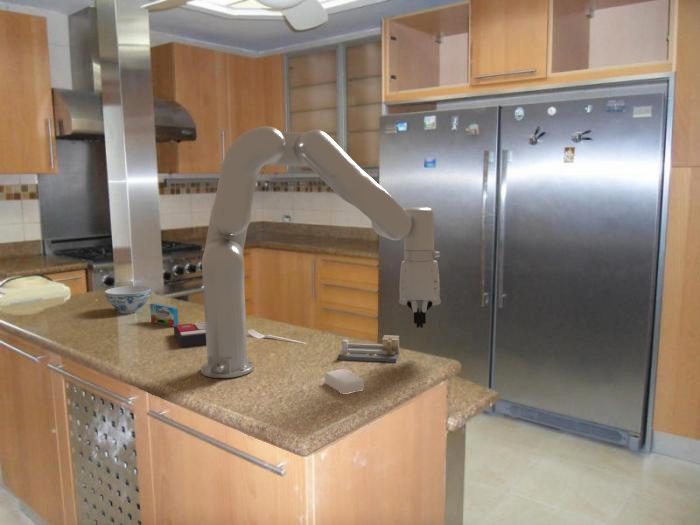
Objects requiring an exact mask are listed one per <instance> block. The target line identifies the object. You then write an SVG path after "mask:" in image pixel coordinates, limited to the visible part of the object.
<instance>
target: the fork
mask: <svg viewBox="0 0 700 525" xmlns="http://www.w3.org/2000/svg"><path fill="white" fill-rule="evenodd" d="M247 332H248V334H249V335H250V336H251V337H253V338H254V339H255V338H256V339H267V338H268V339H271V340H278V341H283V342H289V343H296V344H297V343H298V344H303V345H306V344H307V342H303V341H300V340H295V339H289V338H286V337H281V336H276V335H271V334H267V335H264V334H261V333H259V332H257V331H256V330H254V329H253V328H251V329H250V330H247Z"/></svg>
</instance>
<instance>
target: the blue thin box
mask: <svg viewBox="0 0 700 525" xmlns="http://www.w3.org/2000/svg"><path fill="white" fill-rule="evenodd" d="M149 305H150V306H149V309H150V322H151V323H154V322H155V323H154V324H158V323H159V325H162V324H163V325H164V326H167V325H168V326H167V327H171V326H172V327H171V328H174V327H176V325H179V314H178V311H179V310H178V307H177V306H172V305H168V304H162V303H156V302H152V303H150V304H149ZM163 325H162V326H163Z"/></svg>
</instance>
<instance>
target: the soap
mask: <svg viewBox="0 0 700 525" xmlns="http://www.w3.org/2000/svg"><path fill="white" fill-rule="evenodd" d="M324 381H325V382H324V383H325V385H327V384H328V385H330V386H332V387H333V388H335V389H336V390H338V391H340V392H341V393H349V392H353V391H358V390H362V389H364V390H365V380H364V379H363V378H362V377H359V376H358V375H357V374H355V373H352V372H351V371H349V370H347V369H345V368H341V369H337V370H331V371H327V372H325V374H324ZM328 385H327V386H328ZM330 386H329V387H330ZM333 388H332V389H333ZM335 389H334V390H335ZM336 390H335V391H336ZM338 391H337V392H338ZM341 393H340V394H341Z"/></svg>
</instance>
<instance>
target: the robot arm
mask: <svg viewBox="0 0 700 525" xmlns="http://www.w3.org/2000/svg"><path fill="white" fill-rule="evenodd" d="M264 166H286V167H288V166H289V167H290V166H291V167H309V168H310V169H311V170H312V171H313V172H314V173H315V174H316V175H318V177H319V178H320V179H321V180H322V181H323V182H324V183H325V184H326V185H327V186H328V187H329V188H331V190H332V191H333V192H334V193H335V194H336V195H337V196H338V197H340V198H341V199H342V200H343V201H345V202H346V203H348V204H351V205H352V206H353V207H355V208H356V209H358V210H359V211H360V212H362V213H363V214H364V215H365V216H366V217H367V218H368V219H369V220H370V221H371V227H372V230H373V231H374V232H375V233H376V234H377V235H378V236H381V237H383V238H386V239H389V240H392V241H400V240H403V243H404V244H403V245H404V247H403V249H404V250H403V255H404V256H403V257H404V258H403V259H404V260H402V261H401V263H400V270H399V271H400V273H399V299H398V304H399V305H403V306H407V307H408V308H409V309H410V310H411V311H412V313H413V324H415V325H416V328H421V329H423V328H424V324H427V321H426V320H427V319H426V318H427V311H428V310H429V309H430V308H432V307H433V306H439V305H441V302H442V301H441V296H440V291H441V287H440V286H441V284H440V271H439V263H438V261H437V260H435V259H436V258H439V257H441V252H440V251H436V250H435V214H434V213H435V212H434V210H433V209H432V208H431V207H427V206H425V207H424V206H417V207H416V206H414V207H408V208H404V207H402V205H401V204H400V203H399V202H398V201H397V200H395V198H394V197H393V196H392V195H391V194H390V193H389V192H388V191H387V190H386V189H384V188H383V186H381V185H380V184H379V183H377V181H375V180H374V179H373V178H372V177H371V176H370V175H369V174H367V173H366V172H365V170H363V169H362V168H361V167H360V166H359V165H358V164H357V163H356V162H355V161H354V160H353V159H352V158H351V157H350V155H348V153H346V152H345V151H344V150H343V149H342V147H341V146H339V144H337V142H336V141H334V139H333V138H332V137H331V136H329V135H328V134H327V133H326V132H324V131H323V130H321V129H312V130H309V131H304V132H303V131H301V132H300V131H280V130H278V128H276V127H274V126H269V125H268V126H267V125H266V126H263V125H262V126H258V127H256V128H253V129H250V130H248V131H246V132H245V131H244V132H243V133H242V134H240V135H239V136H237V138H236V139H235V140H234V141H233V142H232V143H231V145H230V146H229V148H228V149H227V150H226V153H225V155H224V158H223V160H222V165H221V170H220V174H219V179H218V183H217V187H216V191H215V192H216V193H215V198H214V201H213V205H212V207H211V210H210V217H209V223H208V229H207V234H206V240H205V246H204V251H203V253H202V254H203V255H202V257H201V258H202V259H201V271H202V286H203V304H204V320H205V321H204V322H205V327H206V345H205V346H206V362H204V363H203V364H201V366H200V373H201V374H202V375H203V376H204V377H207V378H214V379H230V378H237V377H241V376H244V375H247V374H249V373H251V372H252V371H253V370H254V368H255V367H254V366H255V365H254V362H253V361H251V360H250V359H248V351H247V348H248V345H247V324H246V323H247V322H246V318H247V316H246V297H245V291H246V290H245V288H246V287H245V259H244V258H245V257H244V248H245V244H246V238H247V234H248V233H247V232H248V227H249V225H250V223H251V220H252V209H253V208H252V207H253V202H254V195H255V190H256V186H257V181H258V177H259V173H260V172H261V170H262V168H264ZM419 301H420V302H421V301H422V305H421V308H419V307H418V302H419Z"/></svg>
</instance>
